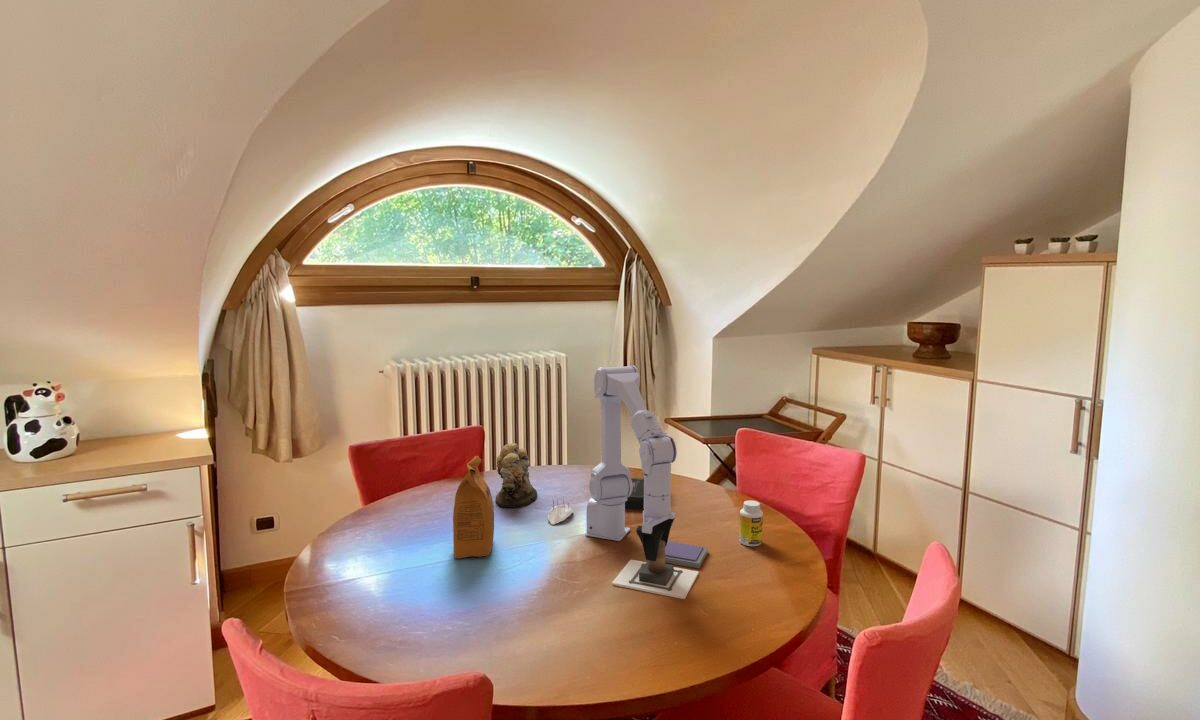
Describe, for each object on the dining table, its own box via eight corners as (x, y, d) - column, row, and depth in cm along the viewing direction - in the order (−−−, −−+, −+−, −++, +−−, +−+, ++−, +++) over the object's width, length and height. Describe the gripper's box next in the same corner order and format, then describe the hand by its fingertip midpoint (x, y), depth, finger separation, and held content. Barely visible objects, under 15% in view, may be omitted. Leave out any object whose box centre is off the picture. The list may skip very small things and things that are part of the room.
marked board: (611, 584, 136) (612, 581, 136) (630, 561, 147) (630, 558, 147) (684, 599, 130) (684, 596, 130) (698, 573, 141) (698, 570, 141)
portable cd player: (607, 489, 197) (607, 477, 197) (663, 492, 195) (663, 479, 194) (600, 509, 181) (600, 495, 181) (661, 512, 179) (661, 498, 178)
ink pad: (652, 560, 148) (652, 554, 148) (663, 544, 156) (663, 539, 156) (699, 568, 144) (699, 562, 144) (707, 552, 152) (708, 546, 152)
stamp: (639, 581, 137) (639, 545, 136) (647, 569, 143) (647, 535, 141) (666, 586, 135) (666, 550, 134) (673, 573, 140) (674, 539, 139)
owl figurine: (530, 511, 179) (529, 452, 176) (489, 510, 180) (487, 451, 177) (541, 488, 197) (539, 435, 194) (503, 488, 197) (501, 434, 195)
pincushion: (563, 527, 167) (563, 507, 167) (542, 525, 169) (541, 504, 168) (578, 511, 179) (577, 492, 178) (557, 509, 181) (557, 490, 180)
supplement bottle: (750, 549, 154) (752, 508, 152) (734, 541, 158) (735, 501, 157) (766, 543, 157) (768, 504, 155) (749, 536, 161) (751, 497, 160)
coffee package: (499, 538, 160) (497, 453, 157) (491, 560, 148) (489, 469, 145) (460, 538, 160) (457, 453, 157) (448, 560, 148) (445, 469, 145)
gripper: (665, 506, 128) (664, 570, 130) (684, 484, 141) (683, 542, 143) (632, 501, 131) (632, 564, 133) (653, 480, 144) (653, 537, 146)
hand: (656, 552), depth 138 cm, fingers open, 7 cm apart
